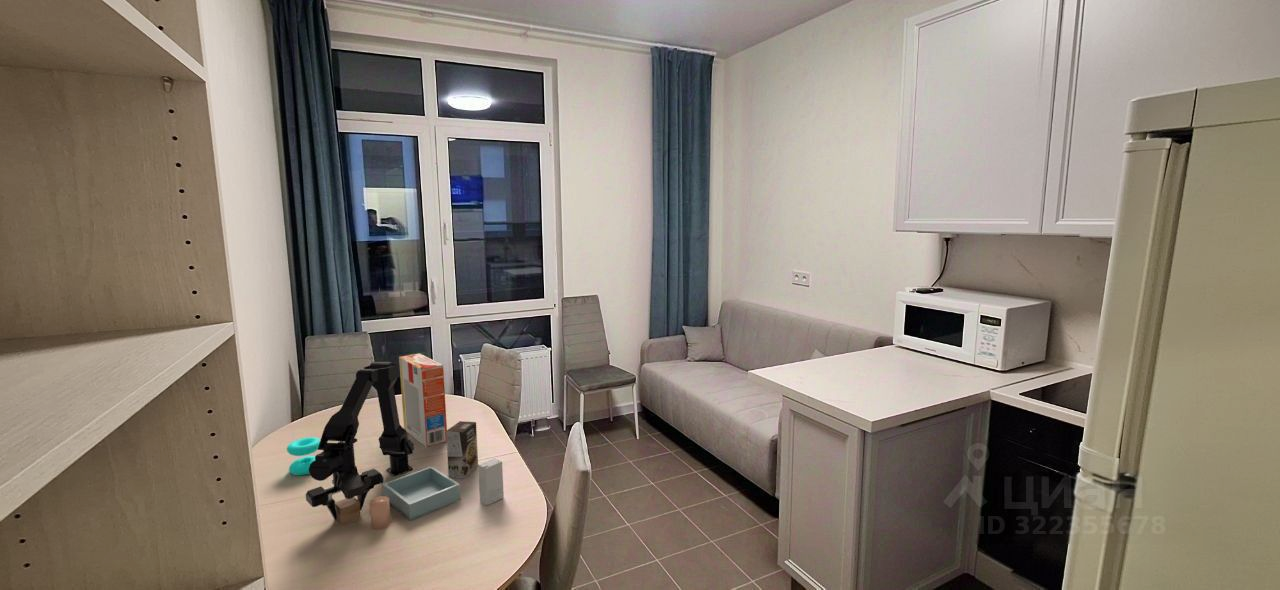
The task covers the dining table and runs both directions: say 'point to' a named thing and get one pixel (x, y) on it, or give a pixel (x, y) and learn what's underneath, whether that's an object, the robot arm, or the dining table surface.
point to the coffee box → (462, 449)
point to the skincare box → (490, 481)
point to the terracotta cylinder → (380, 512)
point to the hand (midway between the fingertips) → (348, 514)
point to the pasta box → (423, 398)
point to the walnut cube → (347, 510)
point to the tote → (421, 492)
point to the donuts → (300, 449)
